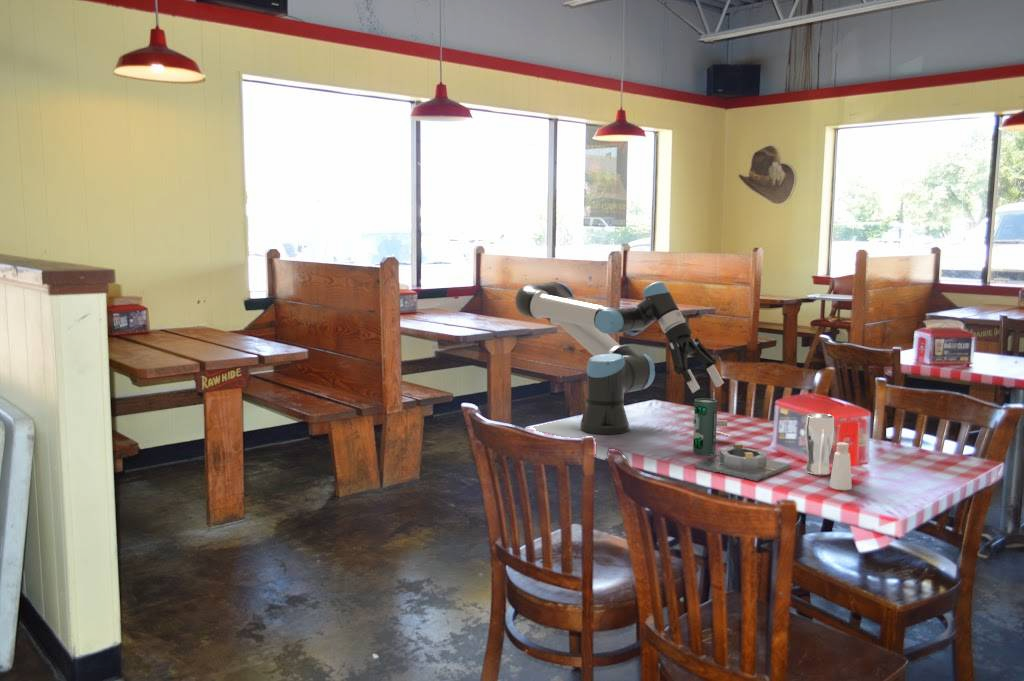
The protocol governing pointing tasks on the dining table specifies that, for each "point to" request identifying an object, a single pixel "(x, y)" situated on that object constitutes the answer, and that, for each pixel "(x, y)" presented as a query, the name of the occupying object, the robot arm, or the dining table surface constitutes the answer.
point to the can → (705, 426)
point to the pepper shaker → (841, 468)
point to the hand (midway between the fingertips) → (708, 388)
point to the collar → (743, 463)
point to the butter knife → (723, 433)
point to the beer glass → (819, 442)
